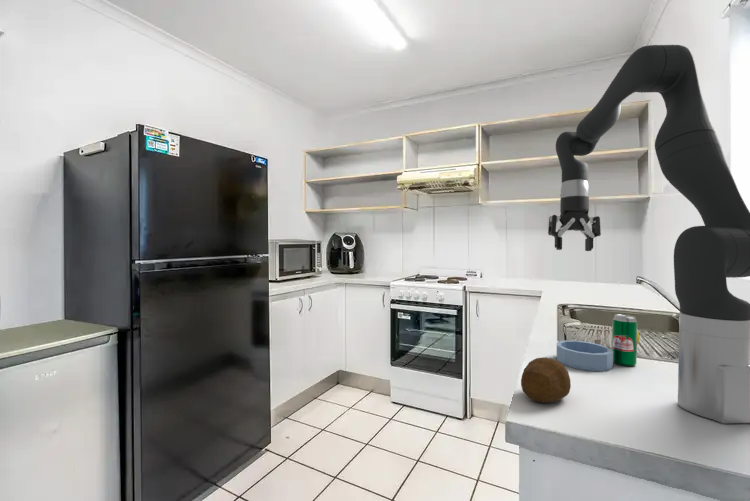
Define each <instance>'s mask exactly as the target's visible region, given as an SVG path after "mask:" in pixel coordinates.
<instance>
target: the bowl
mask: <svg viewBox="0 0 750 501" xmlns="http://www.w3.org/2000/svg"><path fill="white" fill-rule="evenodd" d="M555 355H556V360H557V361H558V362H560V363H561V364H563V365H564V366H566V367H568V366H569V367H570V368H572V369H577V370H581V371H588V372H609V371H611V370H612V369H613V366H614V362H613V351H612V348H610V347H608V346H605V345H602V344H598V343H594V342H589V341H583V340H561V341H556V354H555Z"/></svg>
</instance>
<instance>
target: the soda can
mask: <svg viewBox="0 0 750 501" xmlns="http://www.w3.org/2000/svg"><path fill="white" fill-rule="evenodd" d="M611 325H612V332H611V334H612V335H611V336H612V337H611V342H612V344H611V350H612V351H613V364H615V365H618V366H623V367H634V366H635V365H637V361H638V360H637V357H638V356H637V354H638V344H637V330H638V321H637V319H636V316H632V315H628V314H614V317H613V318H612V324H611Z"/></svg>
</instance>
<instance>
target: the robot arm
mask: <svg viewBox="0 0 750 501" xmlns="http://www.w3.org/2000/svg"><path fill="white" fill-rule="evenodd" d="M634 93H641V94H642V93H659V95H661V97H662V100H663V101H664V105H665V110H666V113H665V118H664V119H663V122H662V123H661V126H660V127H659V129H658V132H657V134H656V137H655V140H654V149H655V155H656V158H657V161H658V164H659V167H660V169H661V172H662V175H663V176H664V178H665V179H666V180H667V181H668V182H669V184H670V185H671V186H672V187H674V189H676V190H677V191H678V192H679V193H680V194H681V195H683V197H685V198H686V200H688V201H689V202H690V203H691V205H693V206H694V208H695V209H696V210H697V212H698V214H699V215H700V218H701V219H702V222H703V224H704V225H697V226H696V225H695V226H691V227H688V228H686V229H685V230H683V231H682V232H681V233H680V234H679V235H678V236H677V239H676V242H675V244H674V247H673V248H674V249H673V270H674V271H673V273H674V275H673V276H674V293H675V296H676V299H677V301H678V303H679V319H680V322H679V321H678V323H679V325H678V326H679V327H678V330H679V331H678V361H677V362H678V364H677V366H678V368H677V369H678V370H677V371H678V372H677V374H678V375H677V404H678V405H679V407H681V408H682V409H684V410H685V411H687V412H689V413H692V414H694V415H697V416H700V417H703V418H706V419H710V420H713V421H716V422H719V423H720V424H750V302H749V301H747V300H744V299H742V298H739V297H737V296H736V295H734V294H733V293H731V292H730V291H729V288H728V285H727V284H728V282H727V278H734V279H735V278H747V277H748V278H749V277H750V210H749V208H748V206H747V204H746V203H745V201H744V200H743V198H742V195H741V193H740V192H739V189H738V187H737V184H736V182H735V179H734V178H733V175H732V172H731V170H730V167H729V166H728V162H727V160H726V158H725V155H724V151H723V147H722V144H721V143H720V140H719V138H718V134H717V133H716V130H715V127H714V126H713V123H712V121H711V118H710V115H709V113H708V109H707V107H706V103H705V101H704V98H703V95H702V91H701V87H700V82H699V77H698V72H697V67H696V63H695V60H694V56H693V53H692V51H691V50H690V49H689V47H687V46H684V45H681V44H649V45H643V46H641V47H639V48H637V49H636V50H635V51H633V53H631V55H629V57H628V58H627V59H626V60H625V62H624V63H623V65H622V66H621V68H620V69H619V70H618V72H617V73H616V75H615V76H614V78H613V80H612V81H611V82H610V84H609V85H608V87H607V89H606V91H604V93H603V95H602V96H601V98H600V99H599V101H598V102H597V103H596V105H595V106H593V108H592V109H591V110H590V111H589V112H587V114H586V115H585V116H584V118H582V119H581V120H580V122H579V123H578V124H577V127H576V129H575V130H576V131H564V132H562V133H560V134H559V135H558V137H557V139H556V141H555V151H556V155H557V158H558V162H559V166H560V170H561V186H560V193H559V197H560V205H559V209H560V210H559V211H560V212H559V213H560V215H556V214H553V215H550V216H549V217H548V218H549V219H548V229H547V230H548V231H547V234H548V236H551V237H554V248H555V249H556V251H562V250H563V237H562V236H563V235H564V234H565V233H566V232H568V231H575V232H576V231H577V232H578V231H579V232H580V233H582V235H583V236H584V237H585V241H584V242H585V243H584V246H585V247H584V251H585V252H591V251H592V250H593V249H594V238H597V237H600V236H601V235H602V233H601V231H602V230H601V217H600V216H599V215H597V216H589V211H590V204H589V203H590V187H589V165H588V163H586V162H584V161H581V160H578V159H577V158H575V157H584V156H587V155H590V154H591V153H592V152H594V149H595V148H596V146H597V144H598V142H599V141H600V139H601V137H602V136H604V135H605V134H606V133H607V132H608V131H610V129H612V127H614V125H615V124H616V123H617V122H618V120H619V118H620V115H621V107H622V103H623V101H624V100H625V99H627V98H628V97H629V96H631V95H633V94H634ZM559 222H560V223H561V225H560V226H559V227H558V229H557V223H559ZM588 223H590V224H591V225H590V226H591V228H590V226H589V224H588Z"/></svg>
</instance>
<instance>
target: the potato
mask: <svg viewBox="0 0 750 501" xmlns="http://www.w3.org/2000/svg"><path fill="white" fill-rule="evenodd" d="M520 384H521V390H522V391H523V393H524V394H525V395H526V397H527V398H528V399H530V400H531V401H533V402H537V403H540V404H541V403H542V404H545V403H547V404H548V403H554V402H557V401H559V400H562V399H563V398H565V397H566V396H568V394H570V391H571V386H572V384H571V378H570V374H569V371H568V370H567V368H566V367H565V365H563V364H561V363H560V362H558V361H557V359H555V358H554V359H553V358H549V357H546V356H545V357H537V358H535V359H532V360H530V361H529V362H528V364H526V366H525V368H524V369H523V371H522V374H521V379H520Z"/></svg>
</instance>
